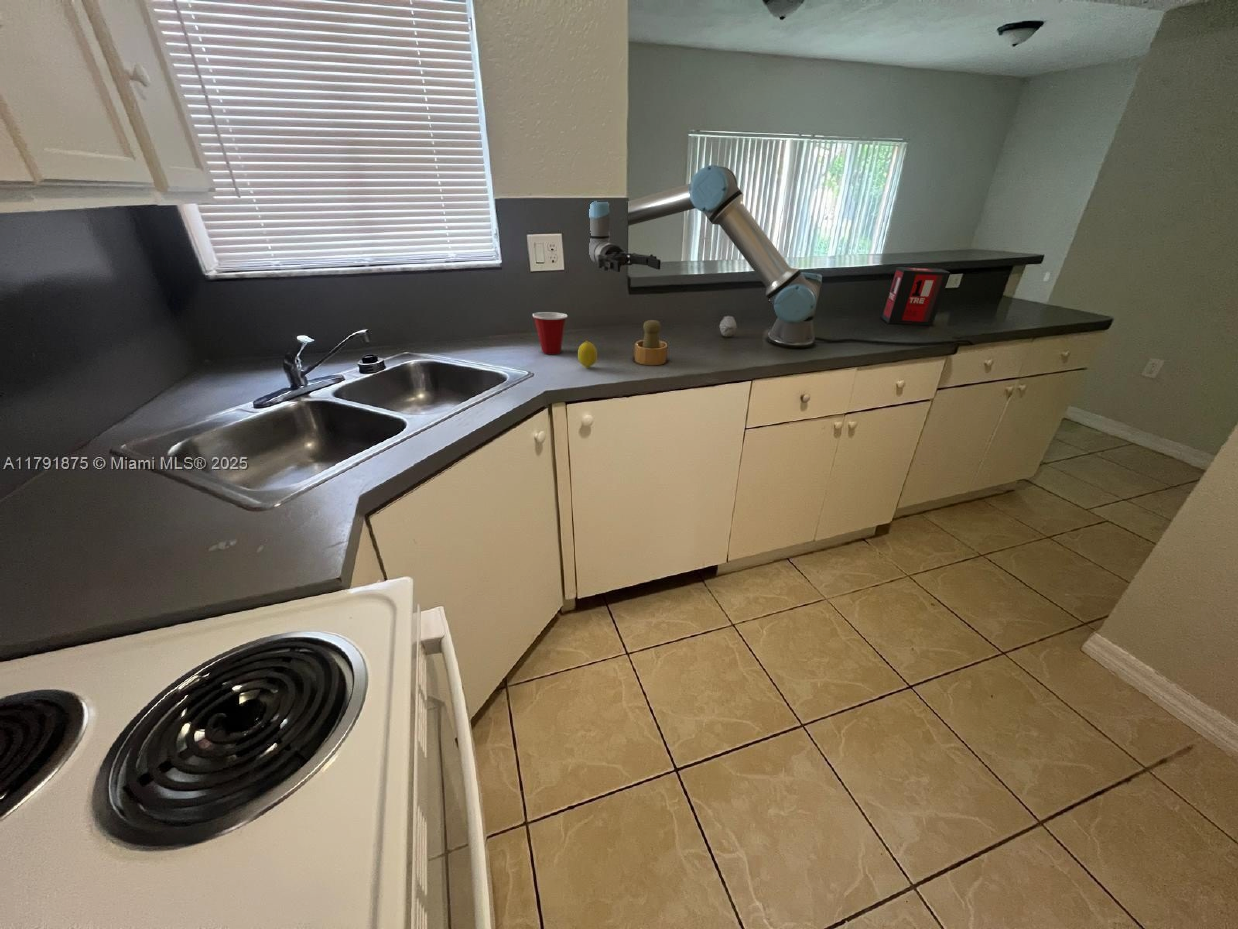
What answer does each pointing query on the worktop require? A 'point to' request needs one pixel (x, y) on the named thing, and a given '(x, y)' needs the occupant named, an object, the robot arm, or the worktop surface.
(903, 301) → the cleaning product box
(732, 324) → the crumpled white ball
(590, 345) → the lemon
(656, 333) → the wooden peg doll
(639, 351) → the wooden cup
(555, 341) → the plastic cup
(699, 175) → the robot arm
